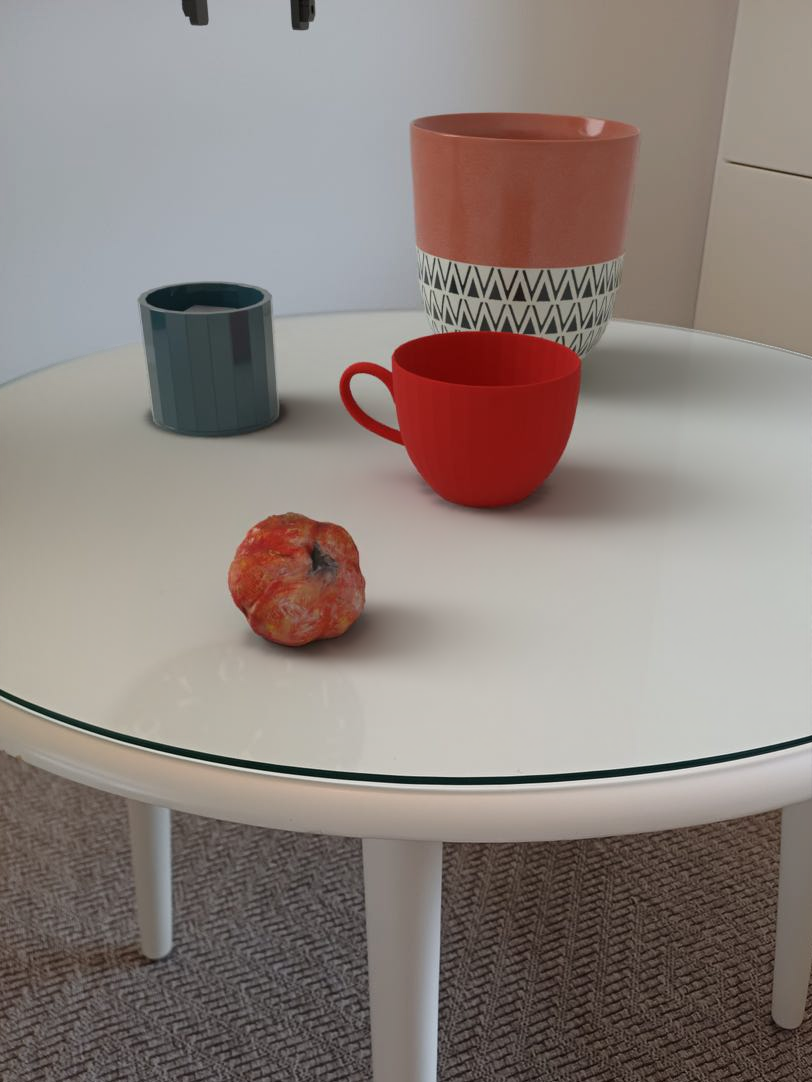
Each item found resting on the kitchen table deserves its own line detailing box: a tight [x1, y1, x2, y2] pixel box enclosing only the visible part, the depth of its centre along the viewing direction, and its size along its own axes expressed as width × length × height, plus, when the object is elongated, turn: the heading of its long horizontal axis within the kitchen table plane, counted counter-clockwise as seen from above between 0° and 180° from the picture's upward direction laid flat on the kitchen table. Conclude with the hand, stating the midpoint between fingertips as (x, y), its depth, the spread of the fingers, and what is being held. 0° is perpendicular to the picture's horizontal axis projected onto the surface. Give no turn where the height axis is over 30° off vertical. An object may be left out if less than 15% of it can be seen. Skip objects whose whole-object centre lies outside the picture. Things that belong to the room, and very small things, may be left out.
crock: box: [136, 280, 280, 438], centre depth 91 cm, size 10×10×10 cm
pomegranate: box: [227, 511, 366, 647], centre depth 62 cm, size 7×7×10 cm
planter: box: [408, 111, 643, 361], centre depth 100 cm, size 20×20×21 cm
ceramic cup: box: [338, 331, 582, 509], centre depth 79 cm, size 13×17×10 cm
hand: (250, 27), depth 90 cm, fingers open, 8 cm apart
